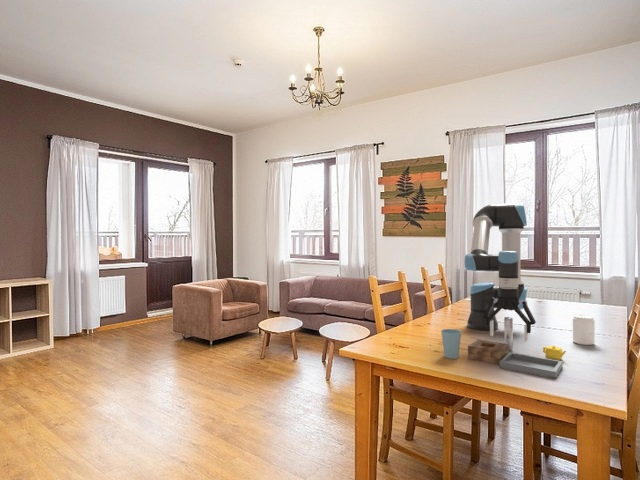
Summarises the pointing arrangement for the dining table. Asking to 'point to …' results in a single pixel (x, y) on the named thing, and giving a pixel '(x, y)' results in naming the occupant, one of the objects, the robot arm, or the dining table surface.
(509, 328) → the pin
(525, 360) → the tray
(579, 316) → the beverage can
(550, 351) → the teapot
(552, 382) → the dining table surface
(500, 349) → the wooden square hole block
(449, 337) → the cup
